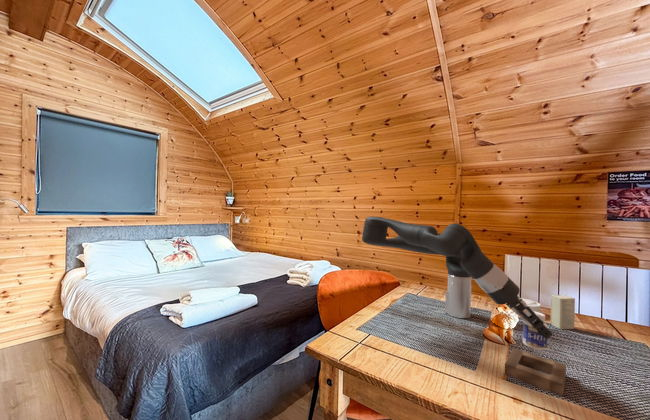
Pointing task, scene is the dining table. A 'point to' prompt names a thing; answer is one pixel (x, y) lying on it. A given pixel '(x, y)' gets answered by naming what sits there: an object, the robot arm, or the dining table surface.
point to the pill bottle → (534, 334)
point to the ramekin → (532, 304)
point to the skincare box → (562, 311)
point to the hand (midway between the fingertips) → (542, 331)
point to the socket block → (535, 377)
